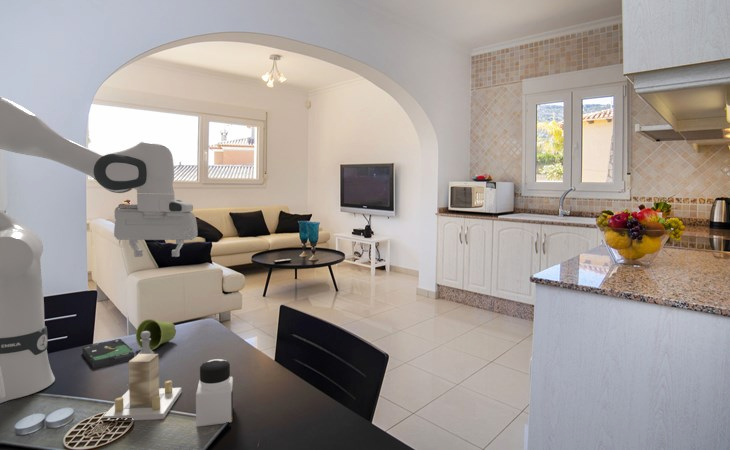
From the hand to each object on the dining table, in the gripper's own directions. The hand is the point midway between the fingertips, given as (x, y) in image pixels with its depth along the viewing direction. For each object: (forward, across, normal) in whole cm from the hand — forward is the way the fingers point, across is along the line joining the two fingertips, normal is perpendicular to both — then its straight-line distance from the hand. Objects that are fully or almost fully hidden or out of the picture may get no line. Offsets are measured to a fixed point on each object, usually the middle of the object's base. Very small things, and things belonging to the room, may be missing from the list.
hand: (157, 256), depth 111 cm
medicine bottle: (+31, +21, -26) cm, 46 cm away
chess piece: (+31, -7, +9) cm, 33 cm away
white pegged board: (+31, +4, -20) cm, 37 cm away
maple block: (+30, +4, -20) cm, 36 cm away
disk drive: (+32, -18, +11) cm, 38 cm away
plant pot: (+28, -6, +24) cm, 37 cm away
